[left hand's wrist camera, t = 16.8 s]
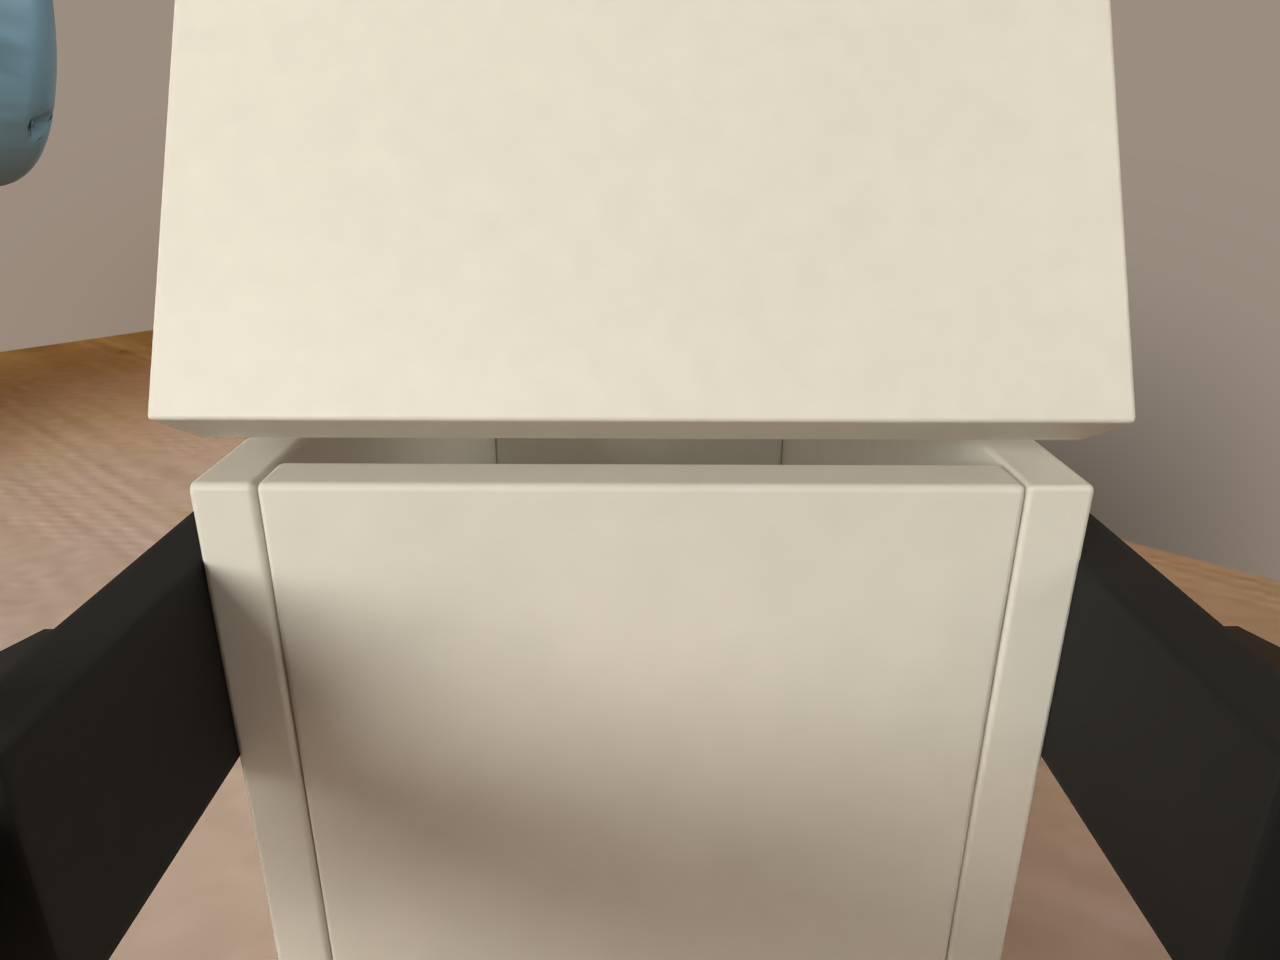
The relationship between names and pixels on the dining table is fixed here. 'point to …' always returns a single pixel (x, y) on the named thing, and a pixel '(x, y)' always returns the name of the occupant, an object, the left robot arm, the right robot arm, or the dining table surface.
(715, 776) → the chest
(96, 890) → the left robot arm
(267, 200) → the lid
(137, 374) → the dining table surface
